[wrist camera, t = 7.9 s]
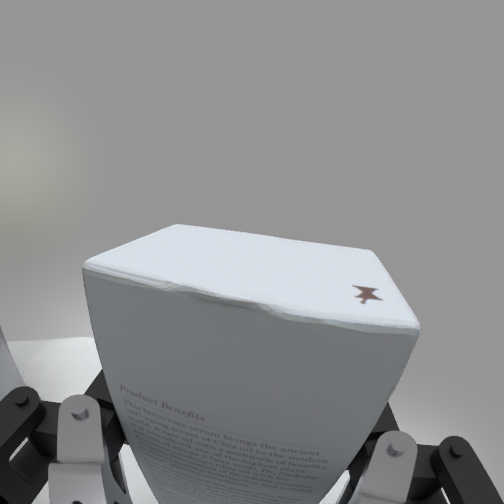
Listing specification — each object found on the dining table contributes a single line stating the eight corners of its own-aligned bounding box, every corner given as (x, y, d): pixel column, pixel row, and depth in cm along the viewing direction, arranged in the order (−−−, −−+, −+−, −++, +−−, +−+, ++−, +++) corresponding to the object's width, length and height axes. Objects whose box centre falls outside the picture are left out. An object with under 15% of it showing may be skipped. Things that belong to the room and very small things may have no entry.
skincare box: (299, 472, 11) (380, 249, 7) (286, 539, 7) (436, 328, 3) (187, 446, 12) (174, 219, 8) (155, 505, 8) (71, 260, 4)
